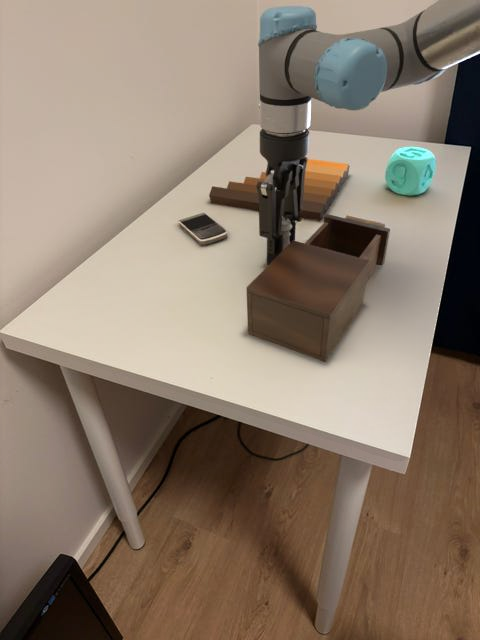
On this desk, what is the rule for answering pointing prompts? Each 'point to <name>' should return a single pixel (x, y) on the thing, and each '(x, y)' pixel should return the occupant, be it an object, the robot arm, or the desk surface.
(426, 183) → the decorative dice
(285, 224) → the rook chess piece
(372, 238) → the drawer
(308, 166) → the pan flute
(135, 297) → the desk surface
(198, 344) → the desk surface
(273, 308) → the cabinet
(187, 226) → the cell phone
